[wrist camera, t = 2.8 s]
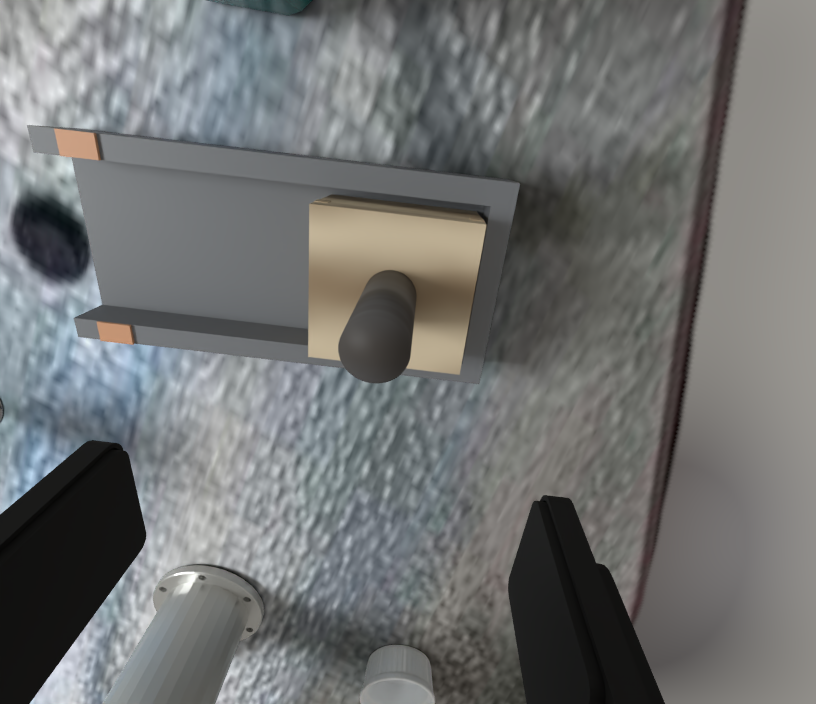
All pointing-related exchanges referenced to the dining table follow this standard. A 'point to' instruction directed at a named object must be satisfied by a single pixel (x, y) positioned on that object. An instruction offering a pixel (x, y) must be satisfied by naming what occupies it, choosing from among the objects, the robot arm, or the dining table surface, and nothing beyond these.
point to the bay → (241, 240)
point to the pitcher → (270, 5)
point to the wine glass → (1, 410)
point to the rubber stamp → (391, 285)
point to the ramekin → (397, 677)
